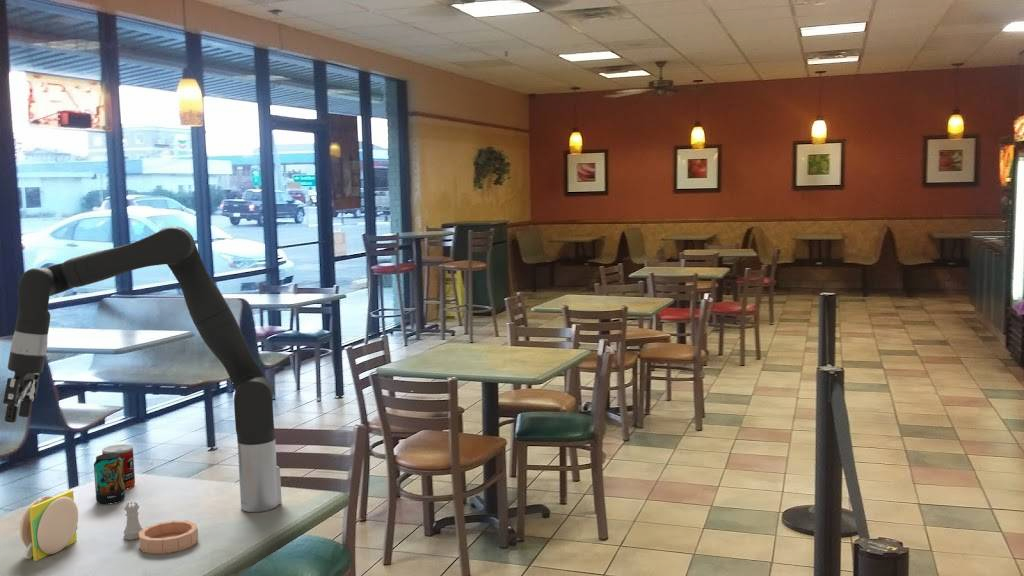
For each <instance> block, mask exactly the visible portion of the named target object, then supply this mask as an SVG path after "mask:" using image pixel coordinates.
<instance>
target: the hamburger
mask: <svg viewBox="0 0 1024 576" xmlns="http://www.w3.org/2000/svg"><path fill="white" fill-rule="evenodd" d="M74 499H75V497H74V490H71V489H70V490H68V491H66V492H63V493H60V494H58V495H55V496H43V497H40V498H38V499H35V501H33V502H32V503H31V504H29V506H28V507H27V508H26V509H25V511H24V513H23V515H22V518H21V520H20V524H19V537H20V540H21V541H22V543H23V545H24V546H25V547H26V550H25V552H24V558H25V559H27V560H31V558H33V561H34V562H36V561H39V560H41V559H43V558H45V557H48V556H49V555H53V554H54V555H55V554H57V553H59V552H61V551H62V550H64V548H66V547H68V546H70V545H72V544H74V543H76V542H77V541H78V540H77V539H78V538H77V530H78V522H79V511H78V506H77V504H76V502H75V500H74ZM75 541H76V542H75ZM73 542H74V543H73ZM67 545H68V546H67ZM65 546H66V547H65Z"/></svg>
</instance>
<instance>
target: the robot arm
mask: <svg viewBox="0 0 1024 576" xmlns="http://www.w3.org/2000/svg"><path fill="white" fill-rule="evenodd" d="M161 265H166V266H167V267H168V268H169V270H170V271H171V273H172V274H173V275H174V277H175V279H176V280H177V283H178V284H179V287H180V289H181V291H182V294H183V297H184V302H185V305H186V306H187V309H188V313H189V315H190V318H191V319H192V322H193V324H194V327H195V328H196V330H197V331H198V333H199V335H200V338H201V339H202V340H203V343H204V344H206V347H208V349H209V350H210V351H211V352H212V353H213V355H214V356H215V357H216V358H217V359H218V360H219V362H221V365H222V366H223V367H224V368H225V370H226V373H227V374H228V376H229V379H230V382H231V383H232V385H233V389H234V396H233V406H234V407H233V410H234V421H235V423H234V424H235V433H236V438H237V439H236V441H237V454H238V455H237V456H238V475H239V476H238V477H239V478H238V479H239V494H240V509H241V510H242V511H244V512H247V513H248V512H249V513H259V512H266V511H269V510H273V509H275V508H277V507H278V506H279V505H280V504H283V502H282V486H281V485H282V484H281V482H282V481H281V468H280V466H278V465H277V449H276V430H275V424H274V423H275V422H274V402H273V399H274V388H273V386H272V383H271V382H270V380H269V379H268V378H267V376H266V374H265V373H264V372H263V370H262V368H261V367H260V366H259V364H258V363H257V361H256V360H255V358H254V356H253V355H252V353H251V351H250V349H249V346H248V344H247V341H246V338H245V337H244V335H243V332H242V330H241V327H240V326H239V324H238V321H237V320H236V318H235V315H234V314H233V312H232V310H231V308H230V306H229V304H228V303H227V301H226V299H225V298H224V296H223V294H222V293H221V291H220V290H219V288H218V286H217V285H216V284H215V281H213V279H212V277H211V276H210V274H209V273H208V271H207V269H206V267H205V264H204V262H203V259H202V258H201V254H200V253H199V250H198V247H197V245H196V242H195V240H194V237H193V235H192V233H191V232H189V230H187V229H185V228H183V227H181V226H177V225H172V226H166V227H164V228H161V229H159V230H158V231H157V232H155V233H153V234H150V235H148V236H146V237H145V238H141V239H140V240H136V241H134V242H131V243H128V244H124V245H121V246H116V247H113V248H108V249H103V250H99V251H98V250H97V251H94V252H90V253H87V254H83V255H80V256H76V257H71V258H70V259H68V260H67V259H66V260H65V261H64V262H62V263H61V262H60V263H57V264H53V265H49V266H44V267H35V268H30V269H27V270H26V271H25V272H23V274H22V275H21V277H20V279H19V282H18V288H17V309H18V313H17V317H16V323H15V327H14V333H13V336H12V340H11V345H10V350H9V351H10V352H9V357H8V363H7V370H9V371H11V372H14V375H13V377H8V378H7V379H6V385H5V391H4V395H3V401H2V404H4V405H6V411H5V416H4V421H5V422H6V423H15V422H16V421H17V416H19V417H22V418H28V417H30V414H31V409H32V402H33V401H34V399H35V398H37V396H38V391H39V390H38V389H39V383H40V377H41V376H40V375H41V373H43V372H44V366H45V361H46V355H47V349H48V337H49V336H48V335H49V330H50V329H49V328H50V322H51V312H50V311H49V305H50V304H49V302H50V297H51V296H55V295H58V294H60V293H63V292H67V291H70V290H71V289H75V288H79V287H80V288H81V287H84V286H89V285H91V284H94V283H98V282H101V281H105V280H108V279H111V278H114V277H117V276H118V275H119V276H121V275H122V274H125V273H128V272H131V271H134V270H138V269H143V268H148V267H153V266H161ZM18 410H19V411H18Z"/></svg>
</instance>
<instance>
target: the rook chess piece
mask: <svg viewBox="0 0 1024 576" xmlns="http://www.w3.org/2000/svg"><path fill="white" fill-rule="evenodd" d="M123 509H124V511H126V514H125V516H126V526H125V528H124V530H123V537H122V538H124V539H125V540H126V539H127V540H126V541H135V540H134V539H136V540H138V539H137V538H139V532H140V531H141V530H143V529H144V528H143V527H142V525H141V524H140V521H139V514H140V513H139V512H138V511H139V509H140V506H139V505H138V502H137V501H134V502H133V501H132V502H131V501H130V503H129V502H127V503H126V504H125V507H124V508H123Z"/></svg>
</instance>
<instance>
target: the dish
mask: <svg viewBox="0 0 1024 576" xmlns="http://www.w3.org/2000/svg"><path fill="white" fill-rule="evenodd" d="M198 541H199V530H198V524H197V523H196V522H193V521H189V520H170V521H169V520H168V521H161V522H157V523H154V524H152V525H149V526H146V527H144V528H143V530H141V531H140V532H139V540H138V542H139V549H141V550H142V551H144V552H146V553H145V554H148V553H152V554H151V555H165V554H167V553H168V554H173V553H172V552H174V553H177V551H178V552H182V551H185V550H187V549H189V548H191V547H193V546H195V545H196V544H197V543H198ZM141 550H140V551H141ZM181 550H182V551H181ZM142 551H141V552H142ZM144 552H143V553H144ZM168 554H167V555H168Z"/></svg>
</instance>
